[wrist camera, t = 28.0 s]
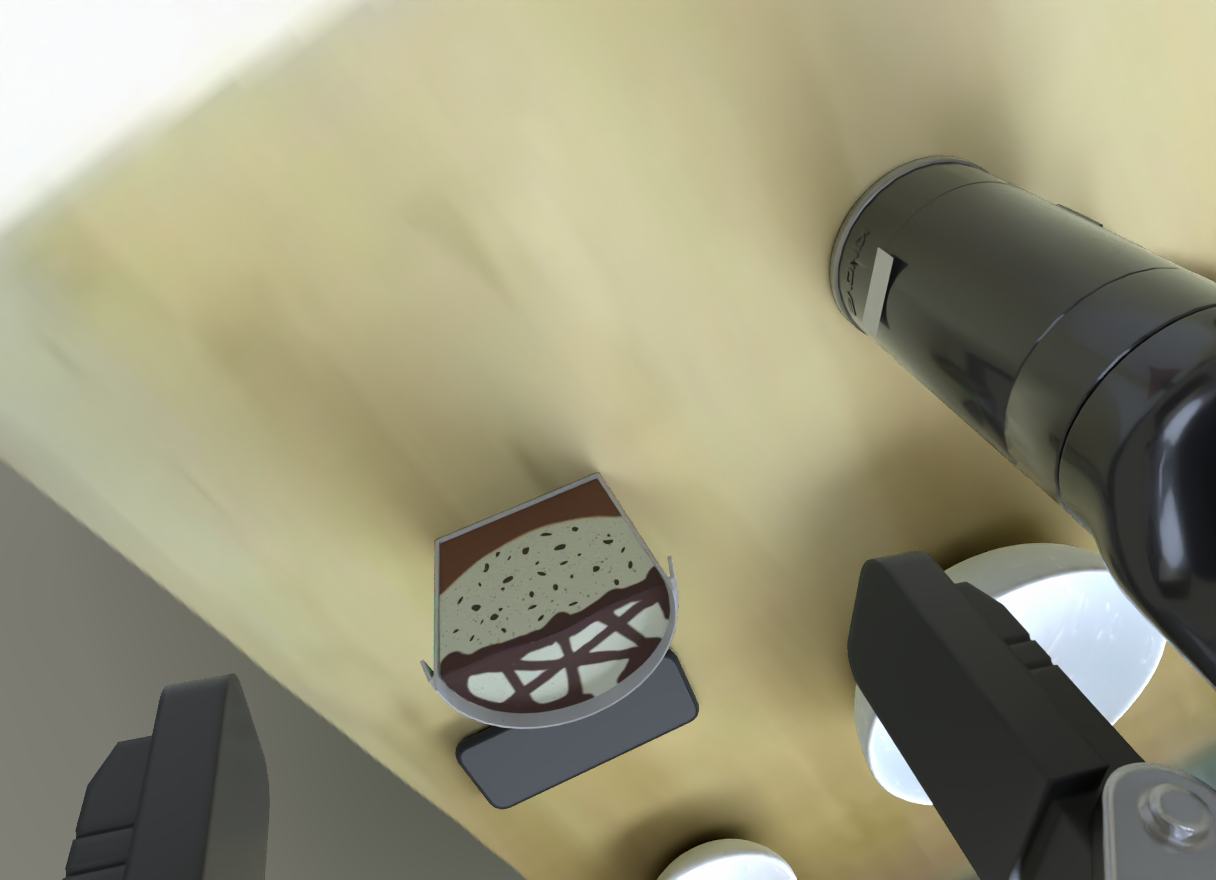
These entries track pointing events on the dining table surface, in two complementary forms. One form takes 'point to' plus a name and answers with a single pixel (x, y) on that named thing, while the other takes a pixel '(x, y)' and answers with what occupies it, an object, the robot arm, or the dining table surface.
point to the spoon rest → (729, 863)
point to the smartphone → (576, 739)
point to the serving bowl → (1044, 638)
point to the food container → (548, 610)
